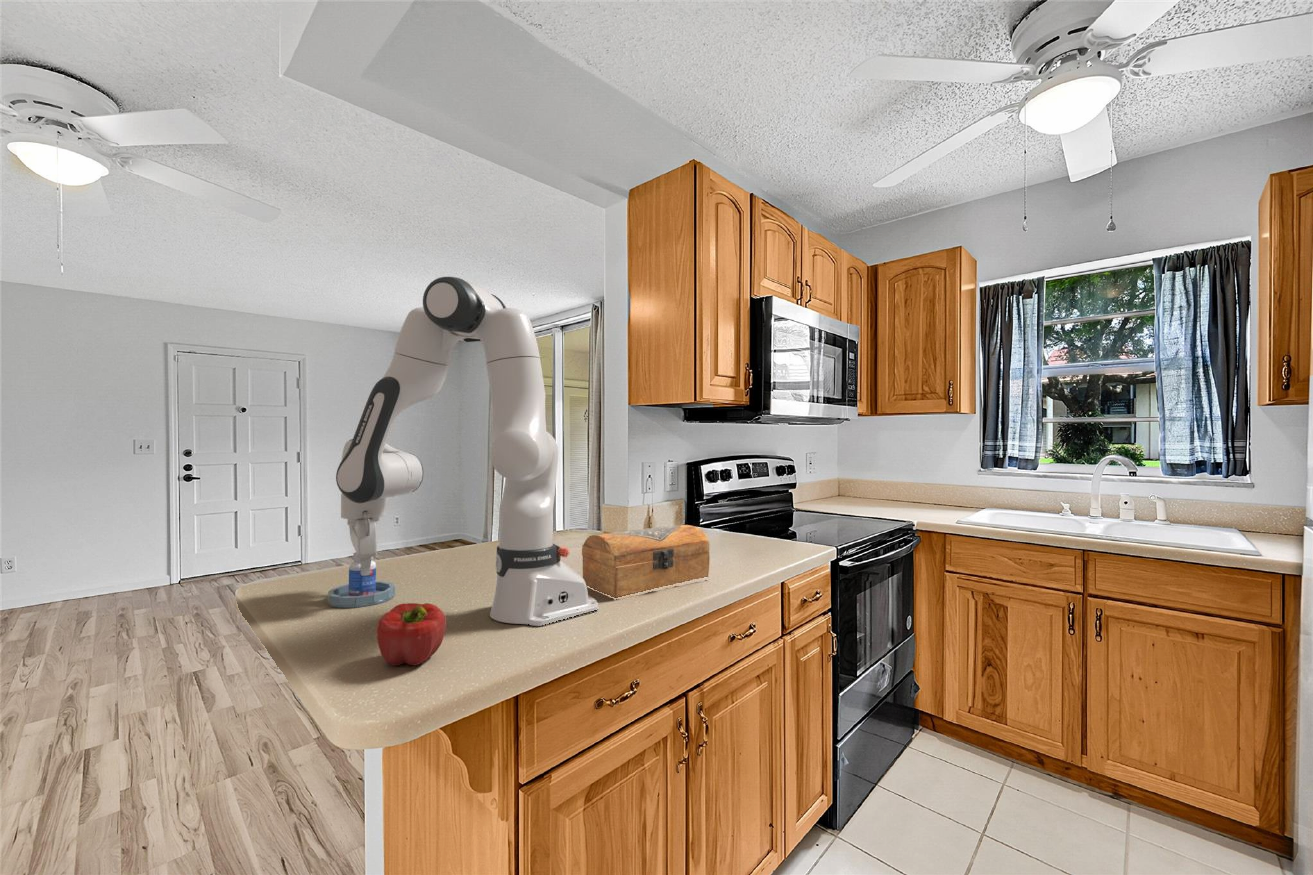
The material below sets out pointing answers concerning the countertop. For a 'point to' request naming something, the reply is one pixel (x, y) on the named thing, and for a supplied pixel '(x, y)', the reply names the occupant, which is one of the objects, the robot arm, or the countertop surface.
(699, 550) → the wooden box
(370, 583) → the pill bottle
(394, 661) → the vegetable
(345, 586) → the dish
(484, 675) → the countertop surface
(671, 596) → the countertop surface
